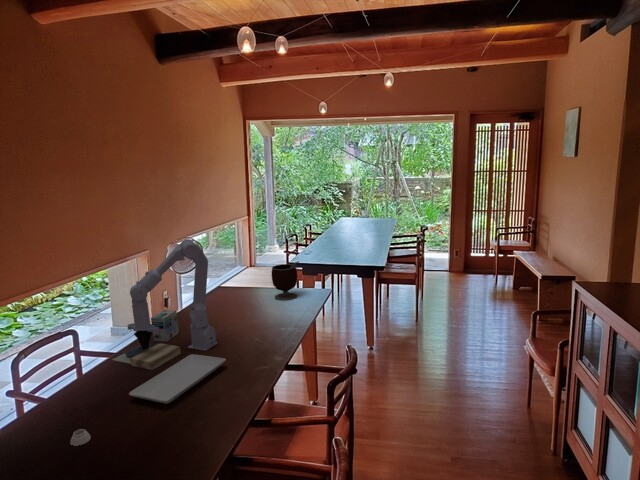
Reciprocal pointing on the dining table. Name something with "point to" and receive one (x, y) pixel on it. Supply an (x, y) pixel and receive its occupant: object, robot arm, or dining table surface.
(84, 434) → the lidless jar
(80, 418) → the dining table surface
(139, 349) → the blue-grey flat block
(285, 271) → the mate gourd
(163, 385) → the tray
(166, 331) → the light bulb box
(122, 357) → the mat
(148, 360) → the deck
